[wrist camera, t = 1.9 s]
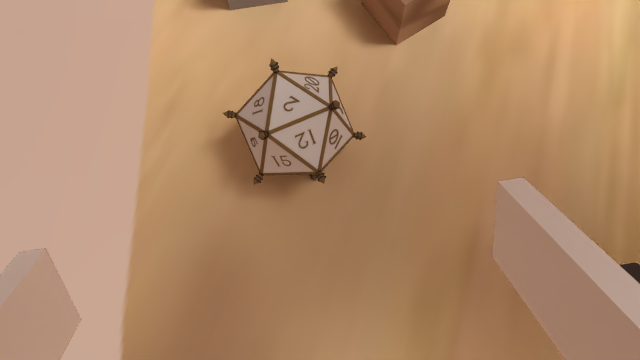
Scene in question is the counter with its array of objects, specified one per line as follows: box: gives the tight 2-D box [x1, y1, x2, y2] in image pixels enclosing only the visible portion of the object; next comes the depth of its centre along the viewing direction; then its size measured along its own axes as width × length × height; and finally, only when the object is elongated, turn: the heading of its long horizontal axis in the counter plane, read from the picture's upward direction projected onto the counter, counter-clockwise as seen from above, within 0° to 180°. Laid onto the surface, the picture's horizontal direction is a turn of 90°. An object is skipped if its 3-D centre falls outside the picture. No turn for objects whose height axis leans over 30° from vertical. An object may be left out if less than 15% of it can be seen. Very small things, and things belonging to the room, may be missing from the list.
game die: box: [223, 59, 366, 184], centre depth 31 cm, size 9×8×10 cm
